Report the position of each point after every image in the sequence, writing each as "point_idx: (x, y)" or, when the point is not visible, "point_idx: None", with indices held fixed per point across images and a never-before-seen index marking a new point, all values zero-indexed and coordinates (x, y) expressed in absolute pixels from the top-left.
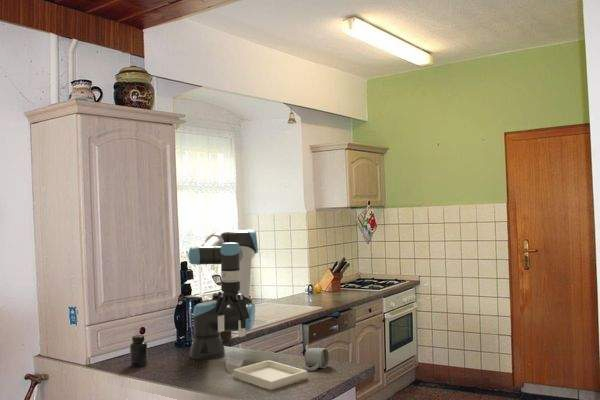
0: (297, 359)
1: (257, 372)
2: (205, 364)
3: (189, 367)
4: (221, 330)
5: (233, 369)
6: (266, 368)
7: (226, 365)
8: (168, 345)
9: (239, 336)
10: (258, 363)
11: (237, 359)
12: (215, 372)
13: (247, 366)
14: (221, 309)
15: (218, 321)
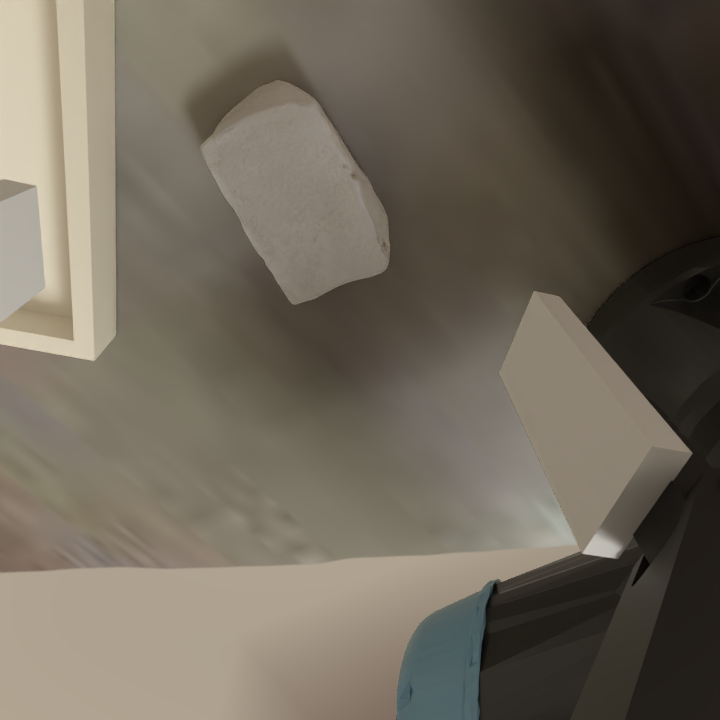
0: (117, 525)
1: (20, 154)
2: (592, 165)
3: (689, 7)
4: (522, 338)
5: (237, 111)
6: (61, 276)
7: (296, 91)
8: None
9: (9, 183)
10: (73, 249)
11: (308, 259)
12: (367, 6)
13: (67, 123)
14: (654, 609)
15: (611, 377)
